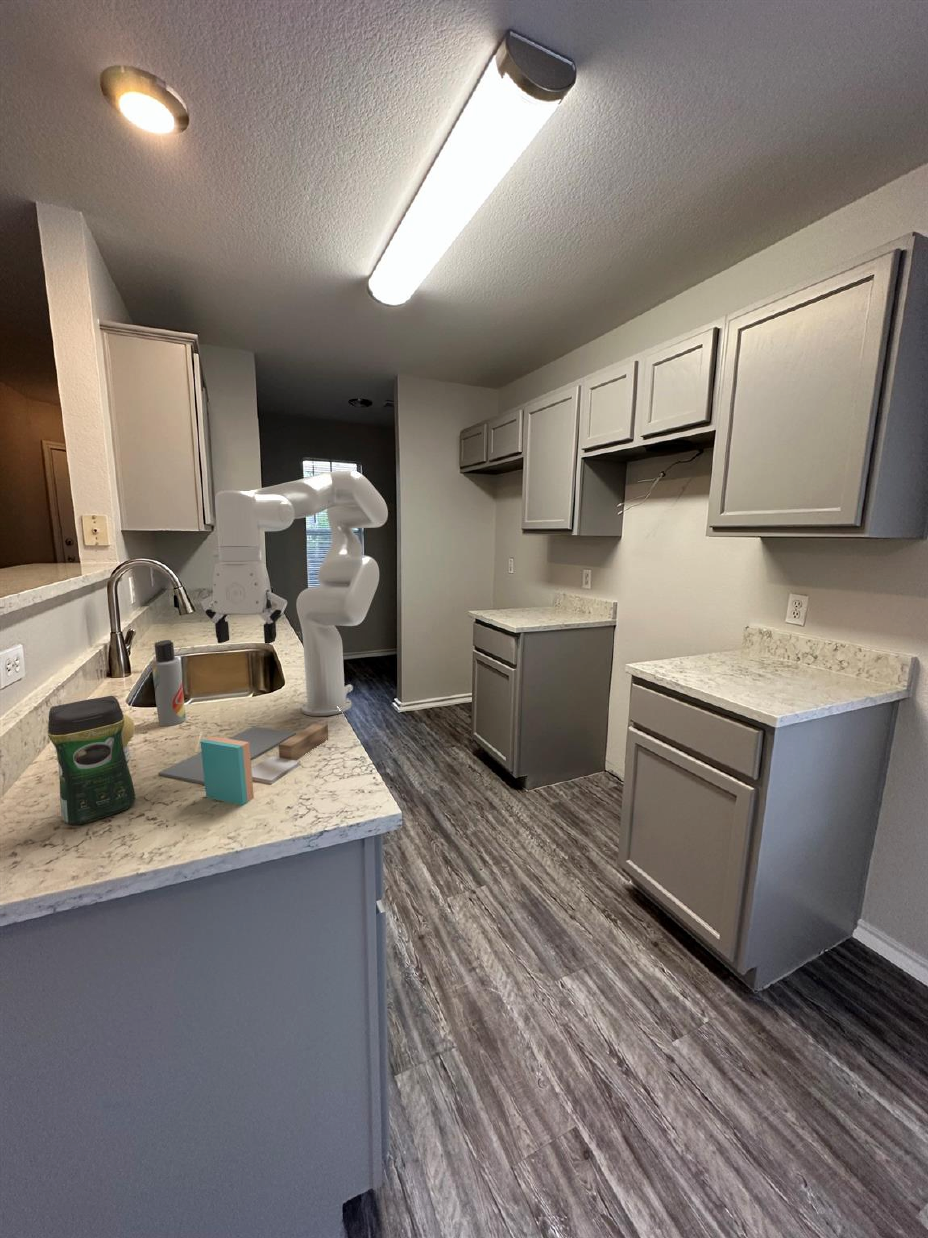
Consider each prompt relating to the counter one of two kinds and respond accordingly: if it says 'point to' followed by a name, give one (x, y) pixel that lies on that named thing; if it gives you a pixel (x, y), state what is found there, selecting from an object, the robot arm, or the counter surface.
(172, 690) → the lotion bottle
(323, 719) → the counter surface
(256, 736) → the mat
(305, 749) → the turner
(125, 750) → the light bulb
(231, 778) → the kitchen sponge
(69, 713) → the coffee jar
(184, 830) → the counter surface
